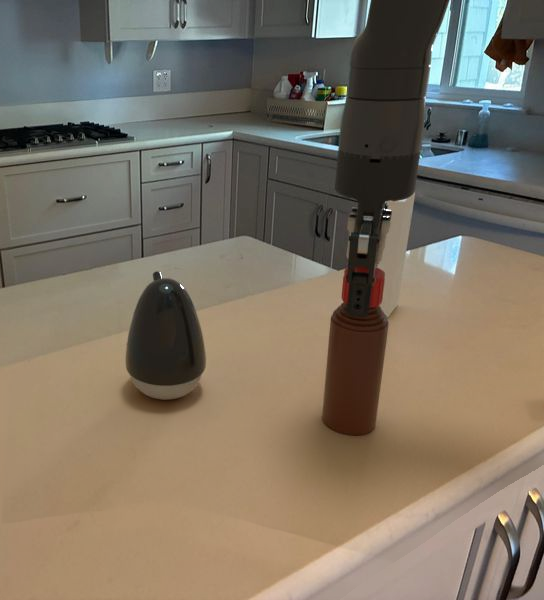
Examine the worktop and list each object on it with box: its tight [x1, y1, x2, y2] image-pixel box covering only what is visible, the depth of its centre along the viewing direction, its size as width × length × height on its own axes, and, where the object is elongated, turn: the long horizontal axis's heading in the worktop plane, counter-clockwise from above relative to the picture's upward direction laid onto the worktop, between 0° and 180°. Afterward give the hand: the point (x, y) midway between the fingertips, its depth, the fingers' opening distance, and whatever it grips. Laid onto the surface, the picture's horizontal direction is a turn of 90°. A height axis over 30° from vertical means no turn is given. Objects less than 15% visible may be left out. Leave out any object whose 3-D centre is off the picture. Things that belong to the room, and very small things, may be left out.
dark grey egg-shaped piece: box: [124, 270, 207, 401], centre depth 76 cm, size 10×10×15 cm
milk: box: [376, 190, 416, 319], centre depth 96 cm, size 6×6×22 cm
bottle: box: [321, 301, 390, 436], centre depth 69 cm, size 6×6×18 cm
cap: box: [341, 267, 385, 308], centre depth 65 cm, size 4×4×3 cm
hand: (359, 306), depth 66 cm, fingers closed on cap, 4 cm apart
